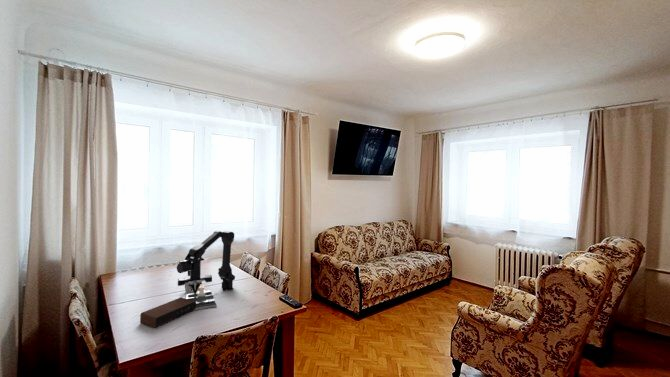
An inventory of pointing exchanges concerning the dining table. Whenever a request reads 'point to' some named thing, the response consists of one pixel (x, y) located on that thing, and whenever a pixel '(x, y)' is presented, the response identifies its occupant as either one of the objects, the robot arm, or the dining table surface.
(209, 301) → the breaker panel
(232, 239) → the robot arm
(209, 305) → the rounded grey rails
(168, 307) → the dark wooden block
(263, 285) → the dining table surface
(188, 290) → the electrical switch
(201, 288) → the breaker lever
